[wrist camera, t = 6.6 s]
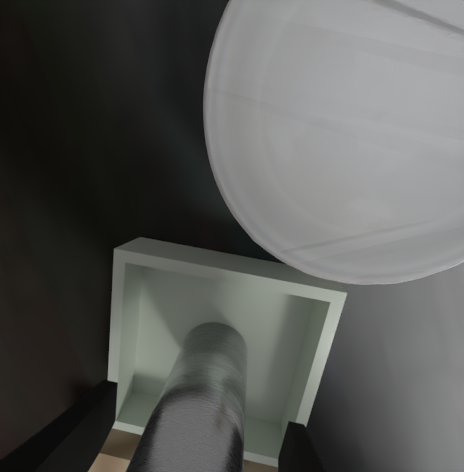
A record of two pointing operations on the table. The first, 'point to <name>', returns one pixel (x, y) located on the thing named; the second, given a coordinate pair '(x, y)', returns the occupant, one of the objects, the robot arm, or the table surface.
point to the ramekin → (342, 133)
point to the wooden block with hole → (122, 449)
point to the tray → (227, 312)
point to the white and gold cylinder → (199, 407)
